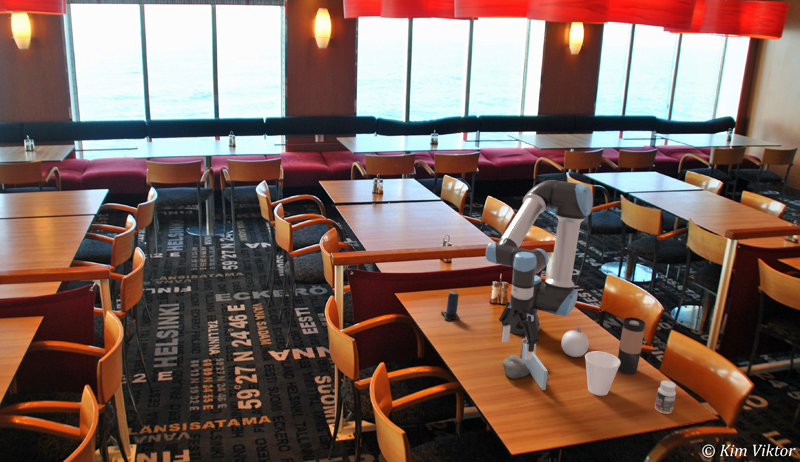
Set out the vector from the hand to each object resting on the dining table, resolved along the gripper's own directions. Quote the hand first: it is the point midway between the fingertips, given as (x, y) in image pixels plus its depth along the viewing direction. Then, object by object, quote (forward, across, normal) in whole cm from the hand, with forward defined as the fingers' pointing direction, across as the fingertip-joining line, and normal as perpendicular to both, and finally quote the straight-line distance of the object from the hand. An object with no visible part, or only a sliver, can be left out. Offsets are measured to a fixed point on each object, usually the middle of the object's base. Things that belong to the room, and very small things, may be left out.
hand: (516, 350), depth 226 cm
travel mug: (+11, +13, +42) cm, 46 cm away
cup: (+11, +20, +21) cm, 31 cm away
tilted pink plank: (+11, -8, +13) cm, 18 cm away
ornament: (+11, -4, +31) cm, 33 cm away
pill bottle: (+11, +39, +33) cm, 52 cm away
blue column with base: (+11, -53, +4) cm, 54 cm away
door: (+10, +3, +7) cm, 12 cm away
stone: (+11, 0, +1) cm, 11 cm away
